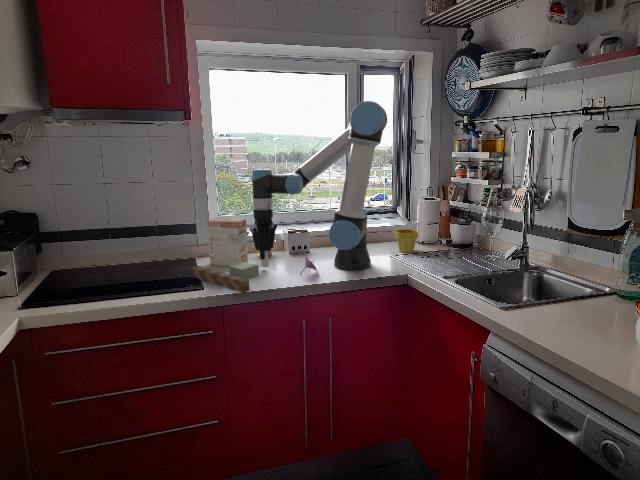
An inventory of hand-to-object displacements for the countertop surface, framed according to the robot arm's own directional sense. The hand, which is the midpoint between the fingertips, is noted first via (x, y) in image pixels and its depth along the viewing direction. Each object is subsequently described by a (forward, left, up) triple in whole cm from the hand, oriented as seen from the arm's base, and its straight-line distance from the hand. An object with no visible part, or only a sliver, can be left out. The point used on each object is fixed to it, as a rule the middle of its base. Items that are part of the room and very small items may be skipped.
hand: (265, 266), depth 181 cm
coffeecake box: (+19, +3, -2) cm, 19 cm away
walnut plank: (0, +23, -2) cm, 23 cm away
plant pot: (-29, -63, -2) cm, 69 cm away
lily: (-19, -6, -2) cm, 20 cm away
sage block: (0, +11, -2) cm, 11 cm away
